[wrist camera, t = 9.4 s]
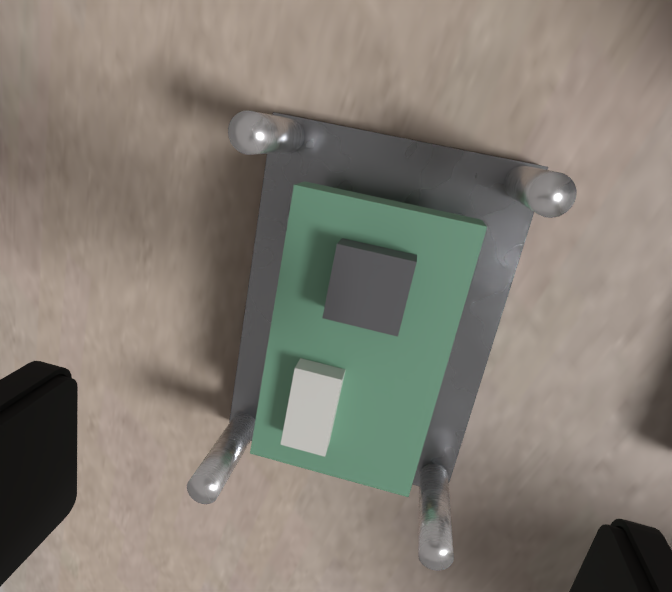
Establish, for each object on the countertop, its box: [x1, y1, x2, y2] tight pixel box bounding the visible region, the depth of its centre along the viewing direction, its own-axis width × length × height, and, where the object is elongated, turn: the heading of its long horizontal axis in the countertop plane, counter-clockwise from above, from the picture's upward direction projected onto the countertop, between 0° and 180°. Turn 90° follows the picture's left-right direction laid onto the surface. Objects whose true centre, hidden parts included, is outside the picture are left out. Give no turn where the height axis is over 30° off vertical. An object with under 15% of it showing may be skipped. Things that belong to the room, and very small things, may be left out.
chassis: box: [187, 111, 576, 570], centre depth 19 cm, size 14×10×6 cm
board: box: [250, 181, 487, 497], centre depth 17 cm, size 10×6×2 cm, turn 169°
